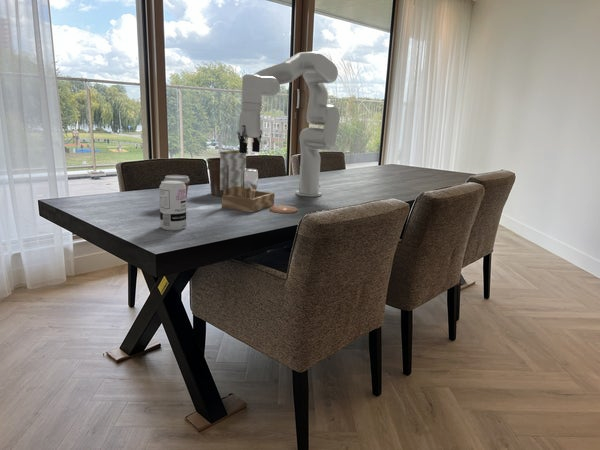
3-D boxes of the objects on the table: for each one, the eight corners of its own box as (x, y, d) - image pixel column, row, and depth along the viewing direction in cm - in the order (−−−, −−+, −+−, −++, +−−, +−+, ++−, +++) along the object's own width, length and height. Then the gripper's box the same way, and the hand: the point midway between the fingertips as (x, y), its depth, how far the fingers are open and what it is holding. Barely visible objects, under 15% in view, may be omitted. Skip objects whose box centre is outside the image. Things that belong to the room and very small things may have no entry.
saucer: (277, 206, 187) (277, 204, 187) (301, 209, 183) (301, 207, 183) (264, 210, 177) (264, 208, 177) (289, 214, 173) (290, 212, 173)
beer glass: (254, 208, 180) (255, 171, 176) (237, 207, 181) (238, 169, 178) (259, 205, 187) (260, 169, 183) (243, 203, 188) (244, 168, 184)
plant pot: (199, 195, 201) (199, 159, 197) (216, 190, 216) (216, 156, 212) (232, 199, 196) (233, 162, 192) (247, 193, 211) (248, 159, 207)
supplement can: (163, 224, 149) (162, 179, 146) (188, 224, 150) (188, 180, 146) (157, 230, 142) (156, 183, 138) (184, 231, 142) (184, 184, 139)
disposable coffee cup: (194, 206, 178) (194, 176, 175) (178, 210, 169) (178, 179, 166) (175, 203, 182) (175, 173, 179) (159, 207, 173) (158, 176, 170)
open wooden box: (243, 200, 195) (244, 149, 190) (274, 204, 189) (276, 152, 184) (219, 207, 179) (219, 151, 174) (252, 212, 173) (253, 155, 168)
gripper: (253, 108, 184) (252, 150, 188) (230, 106, 168) (229, 152, 172) (270, 109, 181) (268, 152, 185) (247, 107, 165) (246, 154, 169)
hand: (249, 152), depth 178 cm, fingers open, 9 cm apart
